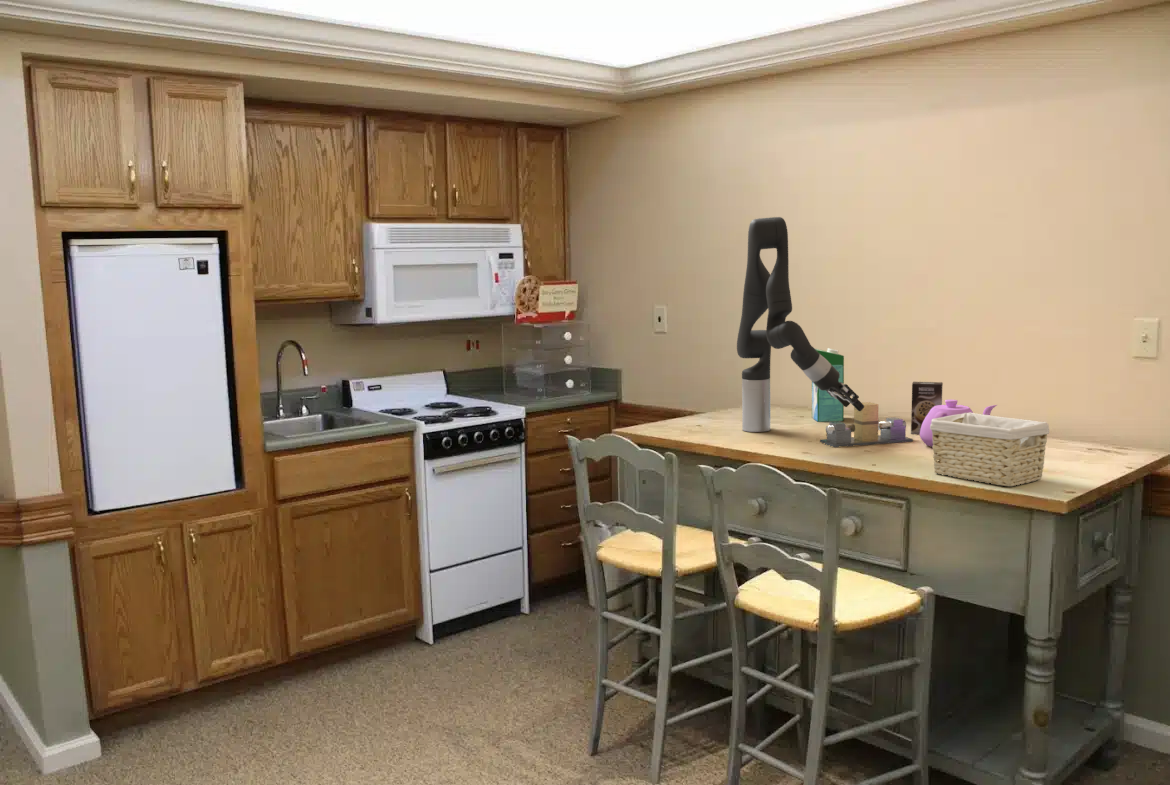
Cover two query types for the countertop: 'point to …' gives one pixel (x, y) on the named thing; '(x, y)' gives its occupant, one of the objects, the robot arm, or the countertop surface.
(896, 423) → the shaft bench
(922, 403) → the coffee box
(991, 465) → the storage basket
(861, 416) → the block
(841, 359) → the milk carton
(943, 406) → the teapot
